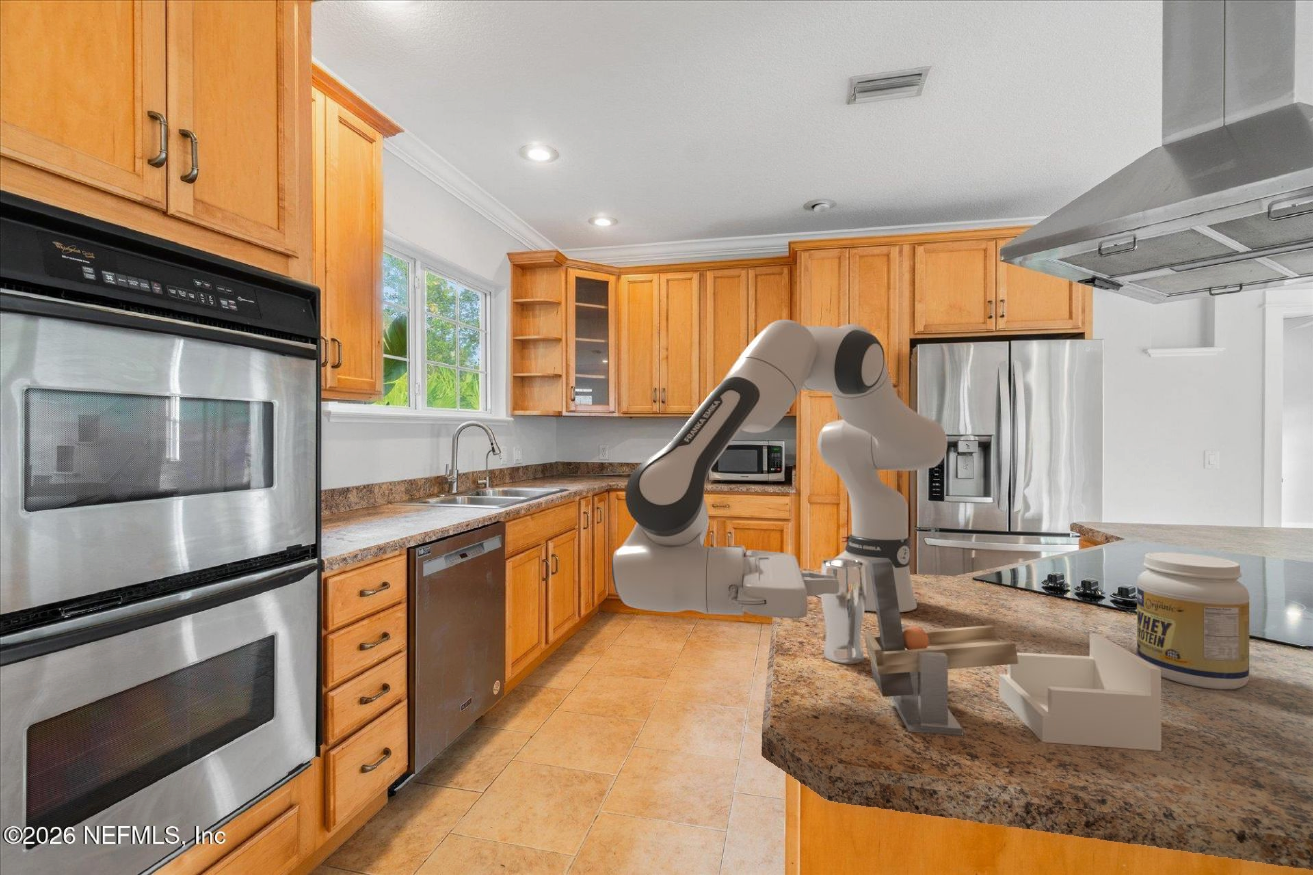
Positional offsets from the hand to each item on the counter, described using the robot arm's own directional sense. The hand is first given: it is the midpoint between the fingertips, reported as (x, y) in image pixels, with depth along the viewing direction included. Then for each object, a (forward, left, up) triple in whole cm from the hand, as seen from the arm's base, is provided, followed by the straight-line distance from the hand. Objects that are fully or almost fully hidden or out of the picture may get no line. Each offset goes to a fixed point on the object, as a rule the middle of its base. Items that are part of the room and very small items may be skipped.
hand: (837, 584), depth 76 cm
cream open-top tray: (+18, +21, -16) cm, 32 cm away
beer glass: (-11, +14, -16) cm, 24 cm away
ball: (+6, +7, -7) cm, 12 cm away
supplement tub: (+20, +52, -16) cm, 58 cm away
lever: (+8, +10, -12) cm, 17 cm away
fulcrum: (+7, +8, -16) cm, 19 cm away
